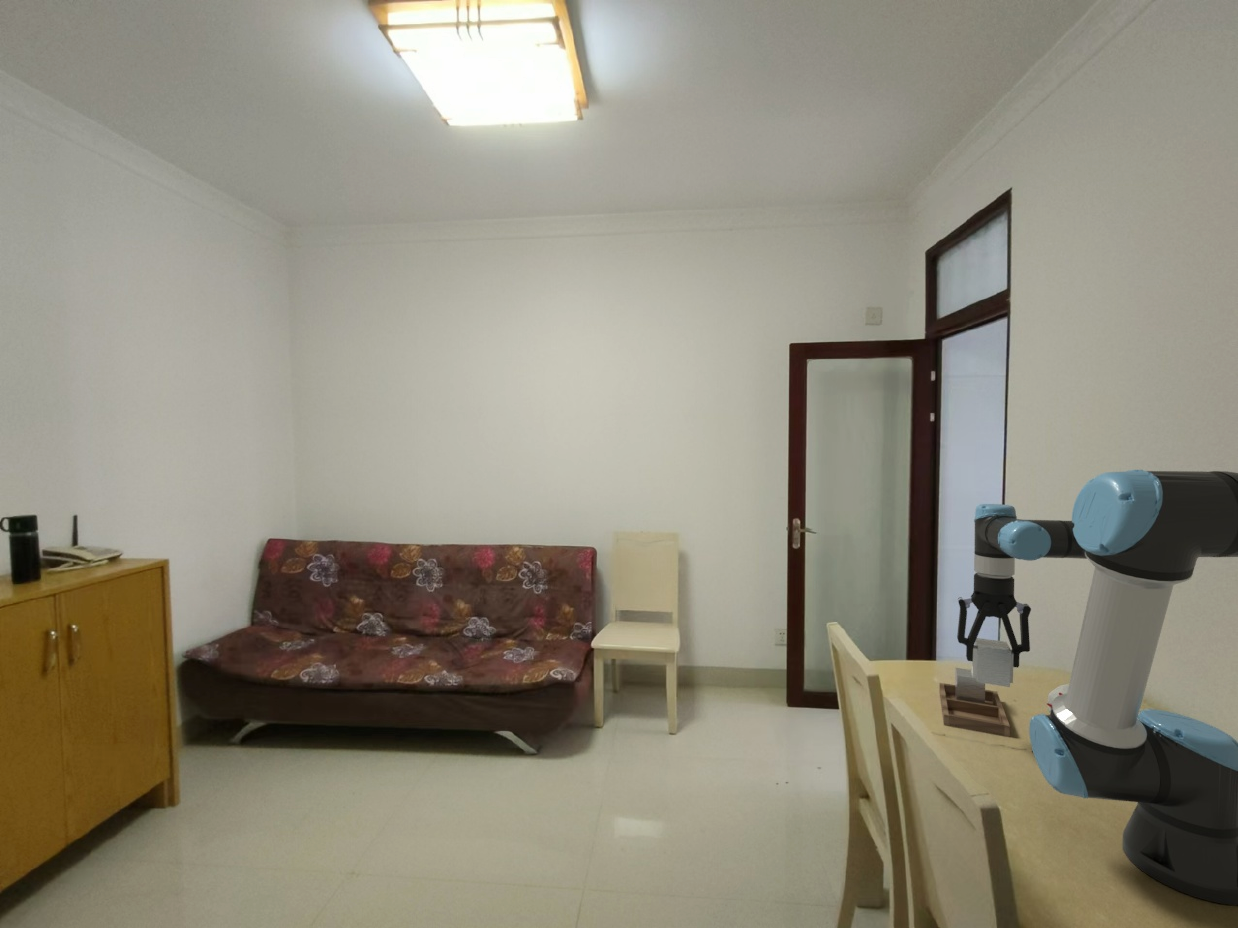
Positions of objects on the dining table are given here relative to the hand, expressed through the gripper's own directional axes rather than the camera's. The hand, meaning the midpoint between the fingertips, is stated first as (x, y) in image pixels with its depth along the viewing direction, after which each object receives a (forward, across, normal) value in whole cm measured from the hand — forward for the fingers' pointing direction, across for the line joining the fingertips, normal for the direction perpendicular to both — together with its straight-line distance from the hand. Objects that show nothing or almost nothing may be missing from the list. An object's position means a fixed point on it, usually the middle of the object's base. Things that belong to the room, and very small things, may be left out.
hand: (991, 677), depth 129 cm
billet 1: (+15, +2, -20) cm, 25 cm away
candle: (+16, -20, -21) cm, 33 cm away
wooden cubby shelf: (+15, +2, -15) cm, 21 cm away
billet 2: (0, 0, 0) cm, 0 cm away
